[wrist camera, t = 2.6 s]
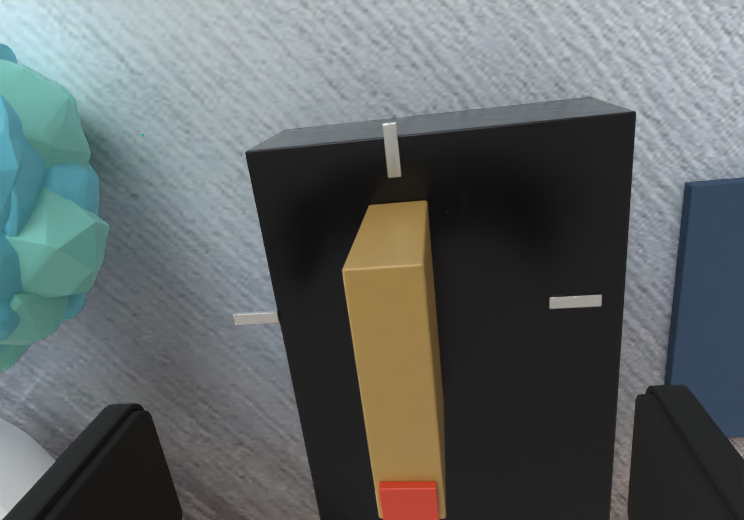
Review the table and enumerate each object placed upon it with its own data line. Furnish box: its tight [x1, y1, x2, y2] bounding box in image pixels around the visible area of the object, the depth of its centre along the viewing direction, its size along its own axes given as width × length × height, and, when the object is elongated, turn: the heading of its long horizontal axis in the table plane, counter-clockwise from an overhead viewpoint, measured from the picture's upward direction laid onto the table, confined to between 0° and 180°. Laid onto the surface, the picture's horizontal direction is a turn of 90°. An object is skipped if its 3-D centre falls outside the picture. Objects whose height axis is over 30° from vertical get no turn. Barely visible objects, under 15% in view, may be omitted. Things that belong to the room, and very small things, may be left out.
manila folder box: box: [342, 200, 446, 520], centre depth 13 cm, size 6×2×5 cm, turn 7°
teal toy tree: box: [0, 44, 194, 374], centre depth 18 cm, size 11×9×15 cm
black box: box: [233, 97, 636, 520], centre depth 18 cm, size 14×11×4 cm
